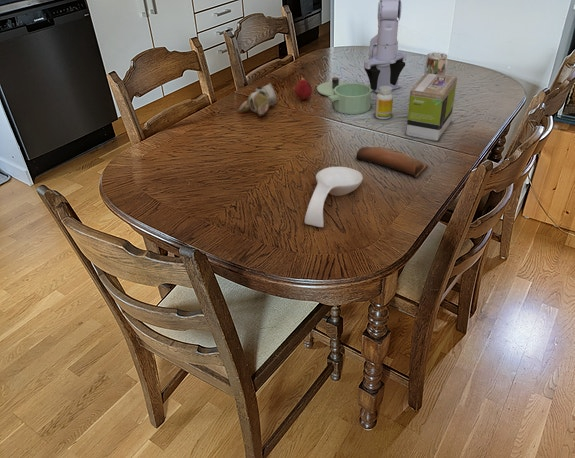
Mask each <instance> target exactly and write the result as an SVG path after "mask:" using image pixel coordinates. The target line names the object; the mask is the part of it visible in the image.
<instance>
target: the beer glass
mask: <svg viewBox="0 0 575 458" xmlns="http://www.w3.org/2000/svg"><path fill="white" fill-rule="evenodd" d="M447 66H448V55H447V54H446V53H443V52H430V53H428V54H427V55H426V59H425V63H424V69H423V70H424V72H423V76H424V75H425V74H426V73H429V74H437V75H445V76H446V72H447Z"/></svg>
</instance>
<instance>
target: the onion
mask: <svg viewBox="0 0 575 458" xmlns="http://www.w3.org/2000/svg"><path fill="white" fill-rule="evenodd" d="M294 92H295V95H296V97H298V98H299V99H300V100H301V101H306V100H307V99H309V97H311V95H312V92H313V88H312V85H311V83H309V81H308V80H306V79H305V78H303V77H301V78H300V80H299V81H298V82H297V84H296V85H295V89H294Z"/></svg>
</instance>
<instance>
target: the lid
mask: <svg viewBox="0 0 575 458" xmlns="http://www.w3.org/2000/svg"><path fill="white" fill-rule="evenodd" d="M344 83H347V82H346V81H340V78H339V77H337V76H335V77H332V79H331V81H326V82H322V83H320V84H318V85H317V87H316V91H317V92H318V93H319V94H320V95H322V96H327V97H328V96H332V95H334V89H335V87H336V86H338V85H340V84H344Z"/></svg>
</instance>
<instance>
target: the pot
mask: <svg viewBox="0 0 575 458" xmlns="http://www.w3.org/2000/svg"><path fill="white" fill-rule="evenodd" d="M367 85H368V84H365V83H360V82H346V83H344V84H340V85H338V86H336V87H335V89H334V95H332V96H327V98H328V100H329V101H331V102H333V109H334V110H335V111H337V112H339V113H341V114H346V115H359V114H363V113H366V112H368V111H370V109H371V106H372V97H373V96H372V94H373V93H372V92H375V91H374V90H372V89H371V87H370V86H367Z"/></svg>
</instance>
